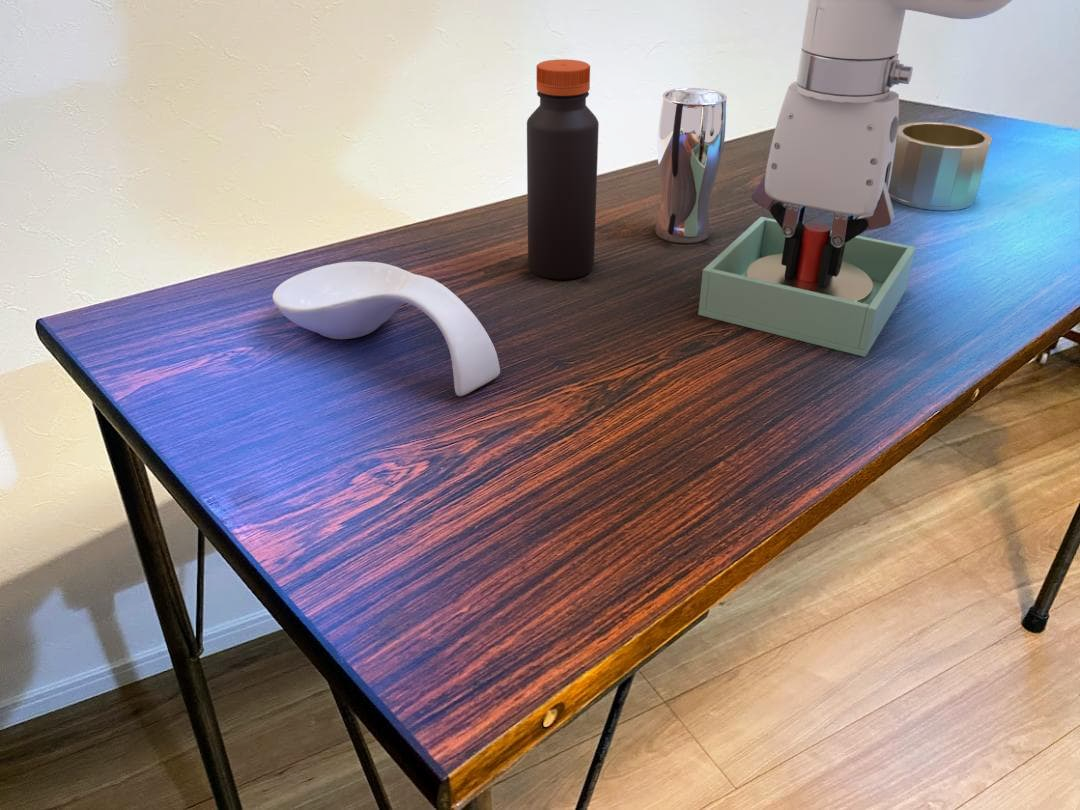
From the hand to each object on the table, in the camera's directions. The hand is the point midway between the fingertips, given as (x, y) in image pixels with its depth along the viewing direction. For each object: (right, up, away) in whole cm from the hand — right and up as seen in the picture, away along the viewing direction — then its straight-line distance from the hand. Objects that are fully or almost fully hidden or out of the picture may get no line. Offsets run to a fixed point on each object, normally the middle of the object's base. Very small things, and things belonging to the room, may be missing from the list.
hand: (808, 275), depth 85 cm
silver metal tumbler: (-9, +7, +16) cm, 20 cm away
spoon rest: (-39, -7, -5) cm, 40 cm away
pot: (+23, +14, +26) cm, 37 cm away
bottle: (-23, +2, +8) cm, 25 cm away
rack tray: (0, -2, +1) cm, 3 cm away
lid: (0, -1, 0) cm, 1 cm away
